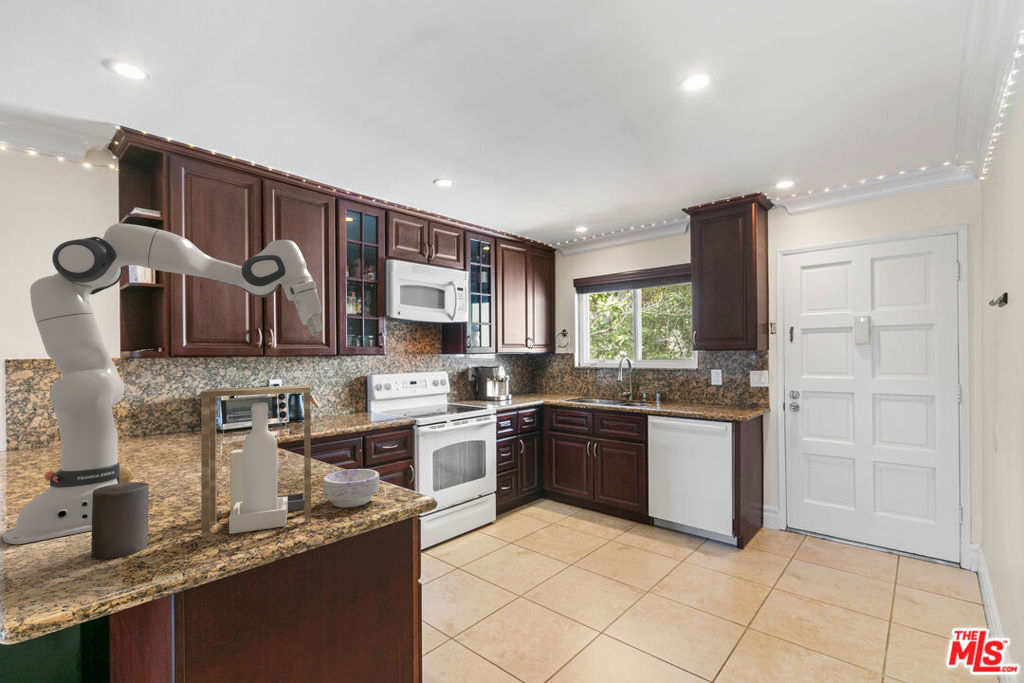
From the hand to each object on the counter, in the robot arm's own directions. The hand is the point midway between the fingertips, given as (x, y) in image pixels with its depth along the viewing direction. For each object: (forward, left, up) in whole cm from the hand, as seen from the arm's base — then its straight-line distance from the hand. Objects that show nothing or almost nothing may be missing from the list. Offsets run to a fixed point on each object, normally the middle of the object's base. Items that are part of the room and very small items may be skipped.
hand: (318, 332), depth 149 cm
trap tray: (-15, -5, -49) cm, 51 cm away
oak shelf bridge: (-24, -13, -49) cm, 56 cm away
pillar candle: (-50, -5, -49) cm, 70 cm away
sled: (-22, -8, -49) cm, 54 cm away
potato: (-37, +57, -49) cm, 84 cm away
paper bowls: (-1, -18, -49) cm, 52 cm away
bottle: (-24, -13, -49) cm, 56 cm away
